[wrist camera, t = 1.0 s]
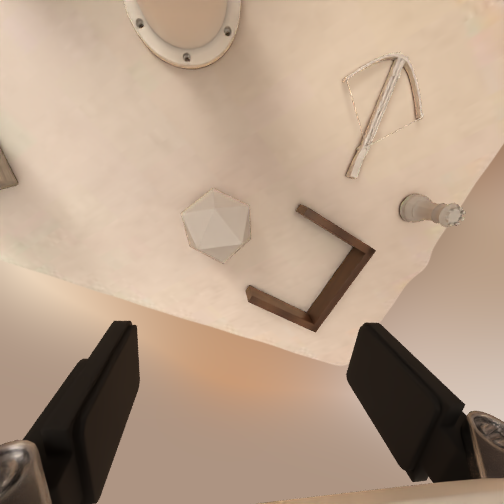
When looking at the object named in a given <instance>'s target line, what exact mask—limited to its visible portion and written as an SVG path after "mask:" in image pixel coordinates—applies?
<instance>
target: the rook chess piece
mask: <svg viewBox="0 0 504 504" xmlns="http://www.w3.org/2000/svg"><path fill="white" fill-rule="evenodd" d="M462 209H463V208H461V207H460V206H459V205H458V204H455V203H451V204H448V205H447V204H444V203H442V204H436V203H433V202H432V201H431V200H429V198H428V197H426V196H423V195H419V194H412V195H410V196H408V197H407V198H406V199H405V200H404V201H403V202H402V204H401V206H400V214H401V217H402V218H403V219H404V220H405V221H408V222H420V221H424V220H431V221H433V222H434V223H440V224H441V225H442V226H443V227H450V226H453V225H456V226H457V225H459V224H460V223H459V222H458V221H459V220H461V221H463V220H464V217H462V214H465V211H464V210H462Z"/></svg>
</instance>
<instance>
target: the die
mask: <svg viewBox="0 0 504 504" xmlns="http://www.w3.org/2000/svg"><path fill="white" fill-rule="evenodd" d="M181 216H182V219H183V223H184V227H185V231H186V234H187V238H188V242H189V246H190V247H192V248H194V249H196V250H198V251H199V252H201V253H203V254H205V255H207V256H209V257H211V258H213V259H215V260H217V261H219V262H221V263H223V264H224V263H225V262H226V261H227V260H228V259H229V258H230V257H231V256H233V255H234V254H235V253H236V252H237V251H238V250H239V249H240V248H241V247H242V246H243V245H245V244H246V243H247V242H248V241H249V240H250V239H251V229H250V210H249V205H247V204H245V203H243V202H241V201H239V200H237V199H235V198H233V197H231V196H228V195H226V194H224V193H222V192H220V191H218V190H216V189H214V188H212V189H211V190H210V191H209V192H207V193H206V194H205V195H203V196H202V197H201V198H200V199H198V200H197V201H196V202H195V203H193V204H192V205H191V206H190V207H188V208H187V209H186V210H185V211H183V212H182V213H181Z"/></svg>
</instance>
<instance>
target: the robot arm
mask: <svg viewBox="0 0 504 504" xmlns="http://www.w3.org/2000/svg"><path fill="white" fill-rule="evenodd" d="M123 2H124V5H125V9H126V12H127V14H128V17H129V19H130V21H131V23H132V25H133V27H134V29H135V31H136V32H137V34H138V36H139V37H140V38H141V40H142V41H143V42H144V44H145V45H146V46H147V47H148V48H149V49H150V50H151V51H152V52H153V53H154V54H155V55H156V56H158V57H159V58H161V59H162V60H164V61H165V62H167V63H169V64H172V65H174V66H177V67H181V68H188V69H196V68H201V67H205V66H207V65H210V64H212V63H214V62H215V61H217V60H218V59H219V58H220V57H222V56H223V54H224V53H225V52H226V51H227V50H228V48H229V47H230V45H231V43H232V41H233V40H234V38H235V35H236V32H237V29H238V25H239V19H240V10H241V0H123ZM140 26H144V27H143V28H141V29H140ZM226 33H228V34H229V35H230V36H226V35H225V34H226ZM186 58H188V59H189V62H186V61H185V59H186ZM346 375H347V380H348V383H349V385H350V386H351V388H352V390H353V391H354V393H355V394H356V396H357V398H358V399H359V401H360V402H361V404H362V406H363V407H364V409H365V411H366V412H367V414H368V416H369V417H370V419H371V420H372V422H373V424H374V425H375V427H376V429H377V430H378V432H379V433H380V435H381V437H382V438H383V440H384V442H385V443H386V445H387V447H388V448H389V450H390V451H391V453H392V455H393V456H394V458H395V459H396V461H397V463H398V464H399V466H400V467H401V468H402V469H403V470H405V471H406V472H407V474H408V476H409V477H410V479H411V480H412V482H418V481H425V480H427V478H428V476H429V478H430V479H431V480H432V482H433V483H429V484H420V485H411V486H403V487H393V488H385V489H375V490H367V491H358V492H350V493H341V494H333V495H324V496H316V497H307V498H299V499H290V500H282V501H274V502H266V503H258V504H504V422H503V421H501V420H500V419H498V418H496V417H494V416H492V415H490V414H487V413H484V412H480V411H471V412H469V414H468V415H467V416H466V415H465V414H464V413H463V412H462V410H463V408H464V406H465V404H464V403H463V402H462V401H461V400H460V399H459V398H458V397H457V396H455V395H454V394H453V393H452V392H451V391H450V390H449V389H448V388H447V387H446V386H445V385H444V384H443V383H442V382H441V381H440V380H439V379H438V378H437V377H436V376H434V375H433V374H432V373H431V372H430V371H429V370H428V369H427V368H426V367H425V366H424V365H423V364H422V363H421V362H420V361H419V360H418V359H416V358H415V357H414V356H413V355H412V354H411V353H410V352H409V351H408V350H407V349H406V348H405V347H404V346H403V345H402V344H401V343H400V342H399V341H398V340H397V339H396V338H394V337H393V336H392V335H391V334H390V333H389V332H388V331H387V330H386V329H385V328H384V327H383V326H382V325H381V324H379V323H364V324H363V326H361V327H360V329H359V332H358V336H357V339H356V343H355V346H354V349H353V353H352V356H351V360H350V363H349V367H348V370H347V374H346ZM139 381H140V377H139V357H138V339H137V326H136V325H132V323H131V321H114V322H113V323H112V324H111V326H110V327H109V329H108V330H107V332H106V333H105V335H104V336H103V338H102V339H101V341H100V342H99V343H98V345H97V347H96V348H95V349H94V351H93V352H92V354H91V355H90V357H89V358H88V359H82V360H80V361H79V362H78V363H77V365H76V366H75V368H74V369H73V370H72V372H71V373H70V375H69V376H68V377H67V379H66V380H65V382H64V383H63V384H62V386H61V387H60V388H59V390H58V391H57V393H56V394H55V396H54V397H53V398H52V400H51V401H50V402H49V404H48V405H47V407H46V408H45V409H44V411H43V412H42V414H41V415H40V416H39V418H38V419H37V421H36V422H35V424H34V425H33V426H32V428H31V429H30V430H29V432H28V433H27V435H26V436H25V438H24V439H23V440H15V441H12V442H8V443H4V444H2V445H0V504H96V503H97V502H98V500H99V498H100V496H101V493H102V490H103V487H104V484H105V481H106V479H107V476H108V473H109V470H110V468H111V465H112V462H113V459H114V456H115V454H116V451H117V448H118V445H119V442H120V439H121V437H122V434H123V431H124V428H125V425H126V422H127V420H128V417H129V414H130V411H131V409H132V406H133V402H134V400H135V397H136V394H137V392H138V388H139Z"/></svg>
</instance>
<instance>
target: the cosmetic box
mask: <svg viewBox="0 0 504 504" xmlns="http://www.w3.org/2000/svg"><path fill="white" fill-rule="evenodd" d="M17 184H18V182H17V180H16V178H15V176H14V174H13V173H12V171H11V169H10V167H9V165H8V163H7V160H6V158H5V156H4V154H3V152H2V150H1V148H0V189H4V188H8V187H12V186H15V185H17Z"/></svg>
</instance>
